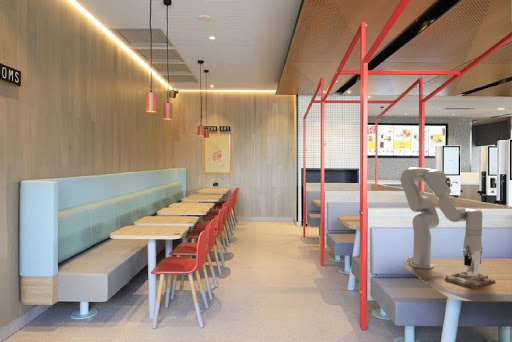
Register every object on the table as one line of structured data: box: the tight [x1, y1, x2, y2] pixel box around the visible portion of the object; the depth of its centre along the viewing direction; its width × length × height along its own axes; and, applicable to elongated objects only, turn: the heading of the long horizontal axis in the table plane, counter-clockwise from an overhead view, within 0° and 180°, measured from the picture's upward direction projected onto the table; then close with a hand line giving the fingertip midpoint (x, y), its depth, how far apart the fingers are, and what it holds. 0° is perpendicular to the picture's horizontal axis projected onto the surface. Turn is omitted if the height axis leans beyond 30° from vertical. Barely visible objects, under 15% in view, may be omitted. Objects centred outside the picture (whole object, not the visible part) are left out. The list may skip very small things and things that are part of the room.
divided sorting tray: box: [444, 270, 496, 290], centre depth 191 cm, size 15×21×3 cm
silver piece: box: [465, 250, 481, 278], centre depth 195 cm, size 7×7×15 cm
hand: (472, 264), depth 195 cm, fingers open, 9 cm apart
